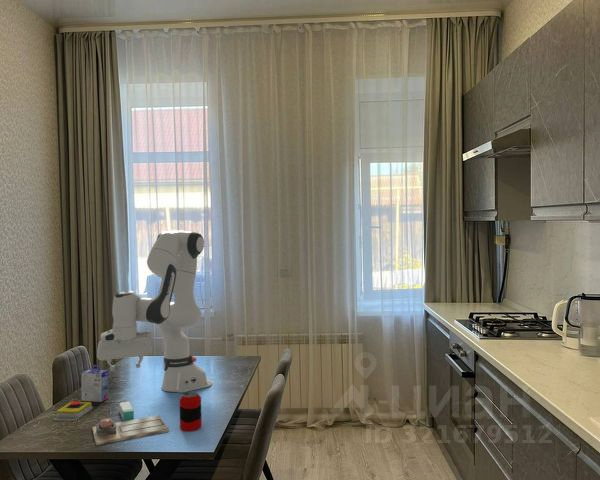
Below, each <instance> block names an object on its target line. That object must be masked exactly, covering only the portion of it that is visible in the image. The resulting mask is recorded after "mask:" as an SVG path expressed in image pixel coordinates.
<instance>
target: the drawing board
mask: <svg viewBox="0 0 600 480" xmlns="http://www.w3.org/2000/svg"><path fill="white" fill-rule="evenodd" d="M91 430H92V433H93V438H94V443H95V445H96V446H101V445H104V444H105V443H106V444H109V443H115V442H116V443H117V442H121V441H126V440H131V439H139V438H143V437H148V436H152V435H153V436H154V435H159V434H163V433H168V432H169V431H170V430H169V427H168V426H167V423H166V422H165V421H164V420H163V417H162V416H161V415H153V416H148V417H142V418H136V419H135V418H134V420H129V421H123V420H122V421H119V422H115V421H114V420H112V427H107V428H101V429H100V423H96V424H95V426H92V428H91Z"/></svg>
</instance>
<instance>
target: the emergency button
mask: <svg viewBox="0 0 600 480" xmlns="http://www.w3.org/2000/svg"><path fill="white" fill-rule="evenodd" d="M93 409H94V406H92V401H79V400H77V401H76V400H75V401H70V402H68V403H67V404H66V405H64V406H62V407H60V408H59V409H57V410H56V416H55V418H53V421H59V422H60V421H62V422H64V421H66V422H67V421H69V422H70V421H72V422H73V421H75V422H76V421H78V420H79V419H81V417H83V416H84V415H86V414H87V413H88V412H90V411H91V410H93Z"/></svg>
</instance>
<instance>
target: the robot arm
mask: <svg viewBox="0 0 600 480" xmlns="http://www.w3.org/2000/svg"><path fill="white" fill-rule="evenodd" d="M204 247H205V240H204V236H203V235H202V234H201V233H199V232H196V231H187V230H165V231H164V230H163V231H162V232H160V233H159V234H158V235H157V237H156V240H155V242H154V243H153V245H152V248H151V249H150V252H149V253H148V256H147V260H146V265H147V267H148V269H149V270H150V272H151V273H153V274H154V275H155V276H156V277H159V278H161V281H160V286H159V290H158V294H157V295H156V296H155V297H141V296H140V295H137V294H135V291H133V290H121V291H118V292H117V293H115V294H114V297H113V300H112V313H111V315H112V318H113V323H112V328H111V329H109V330H106V331H104V332H102V333H100V335H99V338H100V340H99V342H98V344H97V348H96V349H97V351H96V358H97V360H99V361H106V362H107V364H108V366H109V370H110V372H113V371H116V369H115V367H116V366H115V365H112V364H111V363H112V360H118V359H125V358H135V357H136V358H137V357H138V361H137V362H135V368H136V369H140V368H141V363H142V361H143V359H144V357H145V356H150V355H152V353H153V347H152V346H153V345H152V341H153V334H152V332H150V331H147V330H146V331H140V332H139V331H138V328H137V327H138V325H137V322H139V323H140V322H141V323H151V324H156V325H157V326H158V328H159V330H160V333H161V335H162V339H163V351H164V355H163V356H164V357H163V362H162V363H163V365H162V367H163V377H162V384H161V390H163V391H165V392H172V393H178V394H179V393H180V394H181V393H183V394H184V393H188V392H191V391H196V390H200V389H205V388H209V387H212V381H211V379H209V378H208V377H207V374H206V372H205V370H204V369H203V368H202V367H201V366H199V365H197V364H196V363H195V362H197V357H195V356H192V355H190V339H189V336H188V335H186V334H185V332H184V331H183V329H182V328H192V327H196V326H197V325H198V324H199V322H200V321H201V318H202V312H201V309H200V307H199V306H198V305H197V303H196V301H195V296H194V289H195V288H194V287H195V280H196V277H197V276H196V274H197V268H198V257H199V255H200V254H201V253H202V252H203V250H204ZM172 296H173V297H174V301H172Z"/></svg>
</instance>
